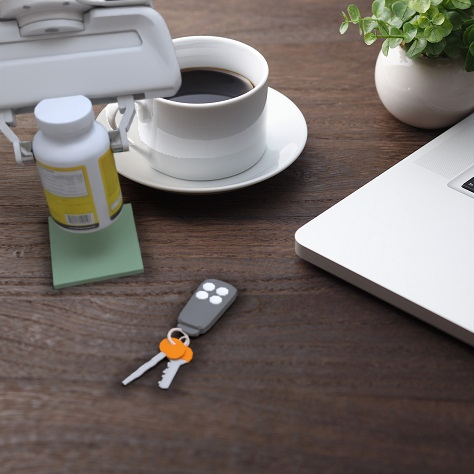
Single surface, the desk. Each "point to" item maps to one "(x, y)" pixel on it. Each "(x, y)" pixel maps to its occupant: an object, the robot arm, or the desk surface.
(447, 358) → the desk surface
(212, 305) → the key chain
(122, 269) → the green mat
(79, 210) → the pill bottle
